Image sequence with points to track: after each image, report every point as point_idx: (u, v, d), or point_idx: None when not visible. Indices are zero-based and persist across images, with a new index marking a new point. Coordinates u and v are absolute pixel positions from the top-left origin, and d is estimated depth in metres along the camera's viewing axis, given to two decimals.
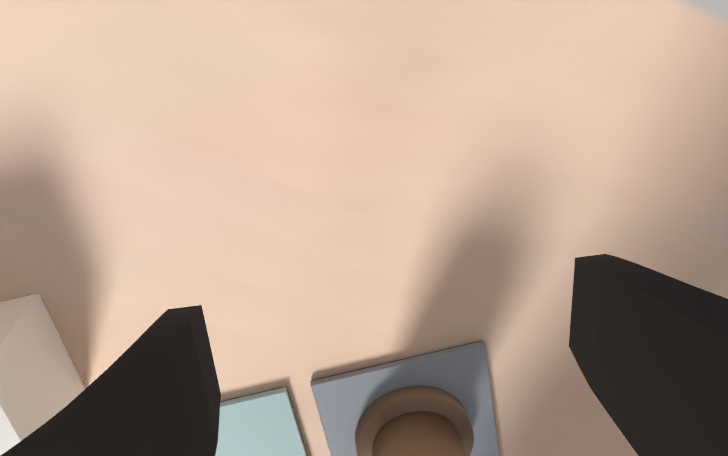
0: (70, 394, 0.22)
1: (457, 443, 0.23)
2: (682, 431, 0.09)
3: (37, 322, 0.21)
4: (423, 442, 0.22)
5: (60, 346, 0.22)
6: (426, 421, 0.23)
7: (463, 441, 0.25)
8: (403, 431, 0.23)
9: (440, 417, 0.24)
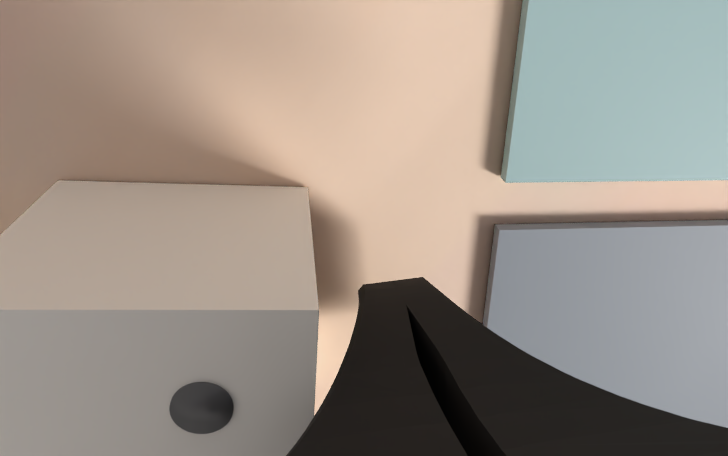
0: (262, 208, 0.10)
1: None
2: None
3: (80, 199, 0.10)
4: None
5: (175, 189, 0.11)
6: None
7: None
8: None
9: None
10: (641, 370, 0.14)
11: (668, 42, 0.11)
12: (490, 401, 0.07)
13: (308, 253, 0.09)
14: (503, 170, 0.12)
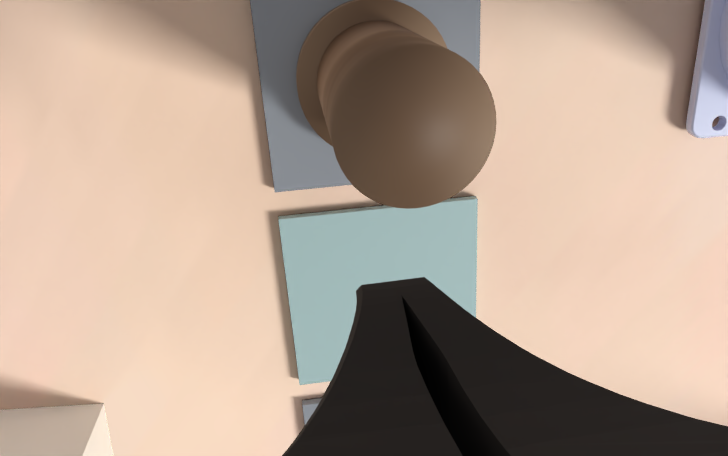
0: (72, 423, 0.22)
1: (343, 38, 0.17)
2: None
3: None
4: (320, 90, 0.17)
5: (35, 411, 0.23)
6: (319, 71, 0.18)
7: (383, 14, 0.18)
8: None
9: (328, 47, 0.18)
10: None
11: None
12: (493, 400, 0.07)
13: None
14: (299, 378, 0.24)
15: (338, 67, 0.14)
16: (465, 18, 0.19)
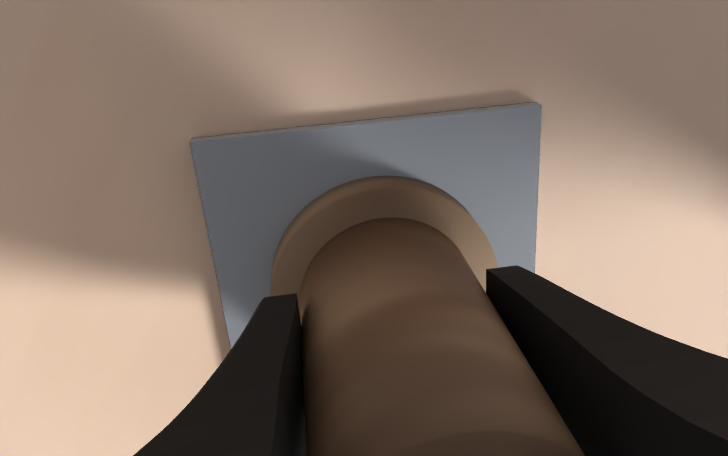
0: None
1: (337, 268, 0.11)
2: None
3: None
4: (302, 345, 0.11)
5: None
6: (302, 298, 0.12)
7: (397, 209, 0.12)
8: None
9: (315, 260, 0.12)
10: None
11: None
12: (646, 379, 0.07)
13: None
14: None
15: (326, 378, 0.09)
16: (516, 196, 0.13)
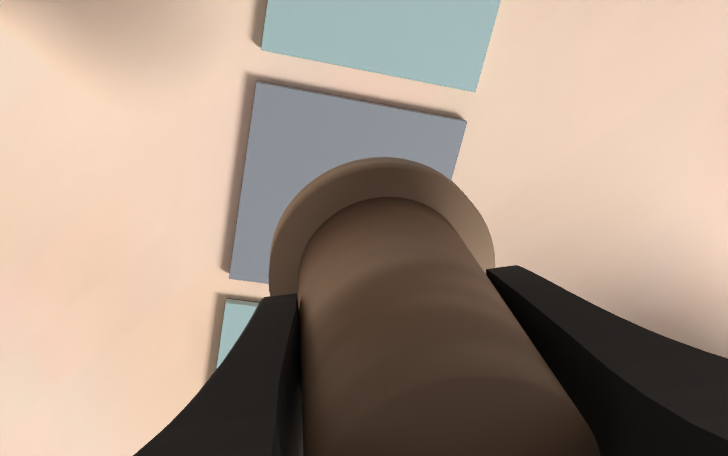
0: None
1: (335, 242, 0.11)
2: None
3: None
4: (299, 318, 0.11)
5: None
6: (300, 275, 0.12)
7: (395, 188, 0.12)
8: None
9: (313, 237, 0.12)
10: None
11: None
12: (646, 379, 0.07)
13: None
14: None
15: (322, 339, 0.09)
16: None
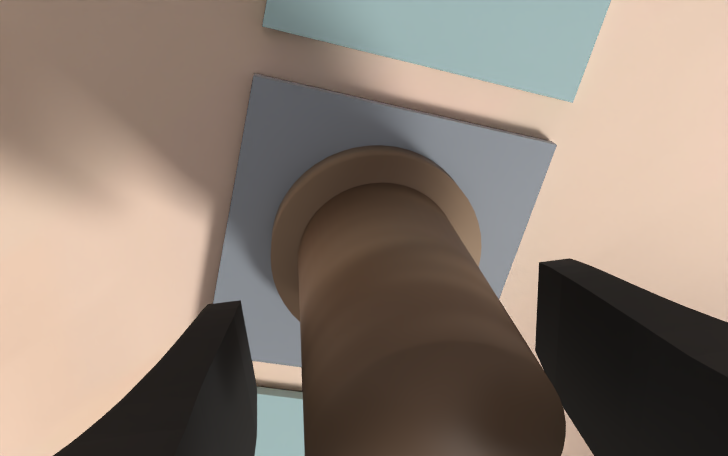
0: None
1: (332, 224, 0.12)
2: (636, 438, 0.09)
3: None
4: (298, 295, 0.12)
5: None
6: (300, 255, 0.13)
7: (388, 175, 0.13)
8: None
9: (312, 220, 0.13)
10: None
11: None
12: None
13: None
14: (264, 16, 0.12)
15: (320, 312, 0.10)
16: None
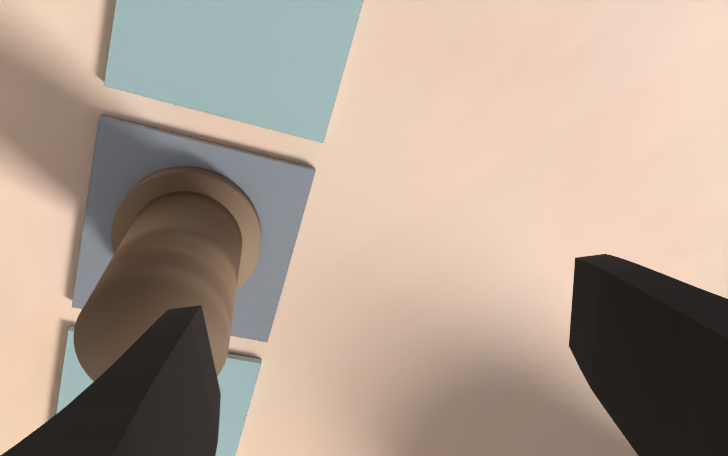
0: None
1: (140, 217, 0.18)
2: (682, 432, 0.09)
3: None
4: None
5: None
6: None
7: (190, 186, 0.19)
8: None
9: (137, 214, 0.19)
10: None
11: (209, 25, 0.18)
12: None
13: None
14: None
15: (107, 267, 0.16)
16: None
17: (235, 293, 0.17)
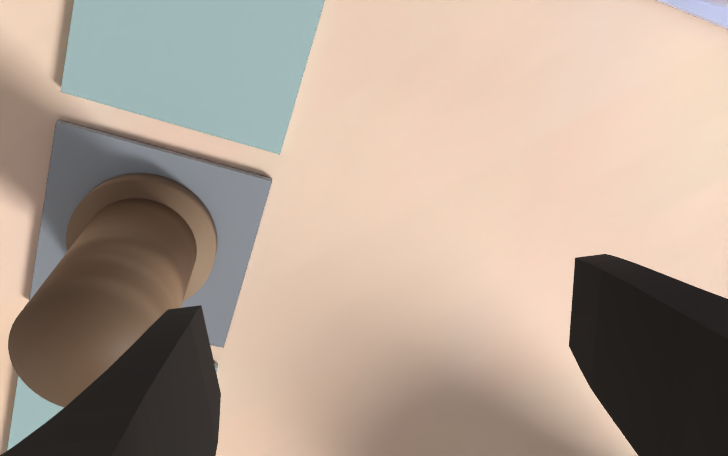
0: None
1: (91, 223, 0.18)
2: (682, 432, 0.09)
3: None
4: None
5: None
6: None
7: (144, 193, 0.20)
8: None
9: (91, 219, 0.20)
10: None
11: (166, 35, 0.19)
12: None
13: None
14: (63, 85, 0.19)
15: None
16: None
17: (180, 303, 0.18)
